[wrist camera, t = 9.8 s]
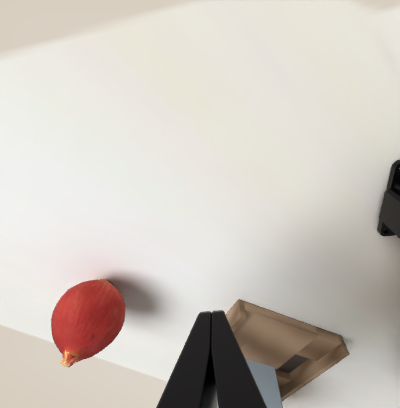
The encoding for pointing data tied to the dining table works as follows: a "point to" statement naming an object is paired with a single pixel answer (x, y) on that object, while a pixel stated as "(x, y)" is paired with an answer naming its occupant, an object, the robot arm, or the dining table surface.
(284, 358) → the box
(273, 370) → the blue block
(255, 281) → the dining table surface
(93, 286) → the onion
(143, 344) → the dining table surface
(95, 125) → the dining table surface
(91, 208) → the dining table surface
